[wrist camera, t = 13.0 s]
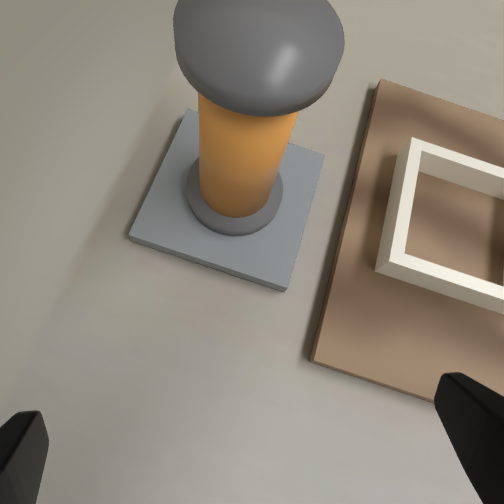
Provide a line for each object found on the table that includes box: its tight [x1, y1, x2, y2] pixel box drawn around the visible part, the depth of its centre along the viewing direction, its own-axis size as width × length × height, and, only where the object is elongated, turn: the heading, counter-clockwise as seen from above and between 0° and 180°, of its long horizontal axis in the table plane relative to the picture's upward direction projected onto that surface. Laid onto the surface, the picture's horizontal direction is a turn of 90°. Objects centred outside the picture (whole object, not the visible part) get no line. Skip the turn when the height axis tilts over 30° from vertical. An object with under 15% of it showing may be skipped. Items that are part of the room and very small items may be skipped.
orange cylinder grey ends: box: [173, 0, 344, 236], centre depth 19 cm, size 6×6×12 cm
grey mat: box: [128, 109, 325, 292], centre depth 25 cm, size 10×10×1 cm
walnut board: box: [309, 79, 504, 403], centre depth 26 cm, size 22×14×1 cm, turn 163°
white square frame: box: [375, 137, 504, 315], centre depth 25 cm, size 9×9×2 cm
